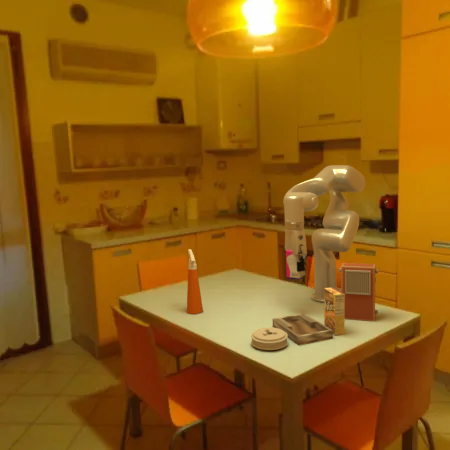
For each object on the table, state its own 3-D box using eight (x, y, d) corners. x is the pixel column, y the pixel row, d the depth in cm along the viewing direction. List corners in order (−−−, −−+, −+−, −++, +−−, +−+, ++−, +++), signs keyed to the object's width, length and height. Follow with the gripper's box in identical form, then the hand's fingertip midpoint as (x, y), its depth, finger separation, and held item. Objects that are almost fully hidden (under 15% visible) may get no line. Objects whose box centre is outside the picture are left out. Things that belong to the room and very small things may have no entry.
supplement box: (305, 276, 192) (304, 248, 190) (299, 279, 187) (298, 251, 185) (292, 274, 195) (291, 247, 193) (286, 278, 191) (285, 250, 189)
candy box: (323, 327, 179) (323, 288, 177) (334, 325, 180) (333, 286, 178) (334, 335, 171) (334, 294, 168) (345, 334, 172) (345, 293, 169)
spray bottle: (199, 305, 211) (196, 247, 207) (204, 313, 200) (201, 252, 196) (184, 307, 209) (180, 248, 205) (188, 315, 199) (184, 253, 195)
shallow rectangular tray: (304, 320, 187) (304, 313, 187) (333, 338, 169) (332, 330, 168) (272, 326, 182) (272, 318, 182) (298, 345, 164) (297, 337, 163)
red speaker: (339, 313, 193) (378, 316, 188) (337, 319, 187) (377, 322, 182) (339, 262, 190) (378, 263, 185) (337, 266, 183) (378, 268, 178)
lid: (268, 335, 175) (267, 322, 174) (295, 344, 165) (294, 330, 165) (243, 345, 166) (243, 332, 165) (271, 355, 157) (270, 341, 156)
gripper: (314, 228, 181) (315, 272, 184) (292, 222, 197) (293, 263, 200) (296, 230, 179) (297, 275, 181) (276, 223, 195) (277, 265, 198)
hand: (295, 268), depth 191 cm, fingers closed on supplement box, 7 cm apart
